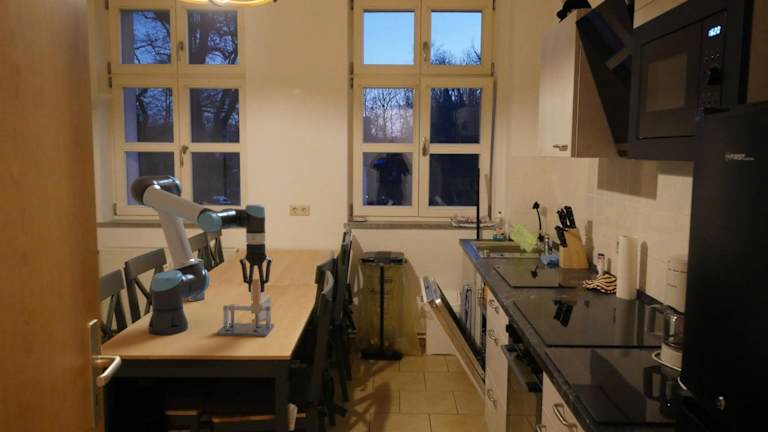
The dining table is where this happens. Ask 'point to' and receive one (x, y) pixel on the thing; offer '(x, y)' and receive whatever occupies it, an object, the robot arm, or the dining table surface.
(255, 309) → the sliding leg
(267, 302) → the white wedge bracket
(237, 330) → the bolt plate
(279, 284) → the dining table surface
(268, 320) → the grey bracket frame
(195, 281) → the robot arm
